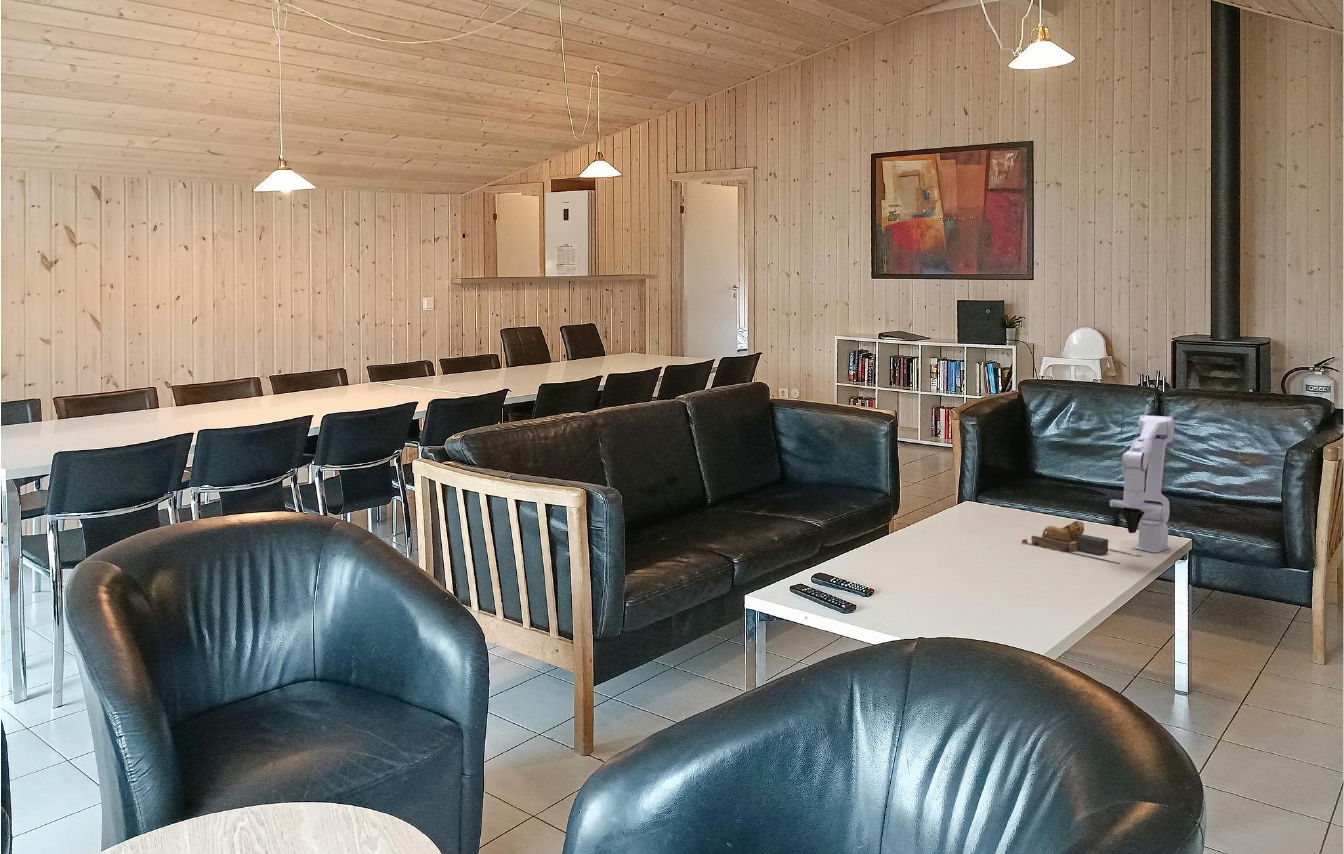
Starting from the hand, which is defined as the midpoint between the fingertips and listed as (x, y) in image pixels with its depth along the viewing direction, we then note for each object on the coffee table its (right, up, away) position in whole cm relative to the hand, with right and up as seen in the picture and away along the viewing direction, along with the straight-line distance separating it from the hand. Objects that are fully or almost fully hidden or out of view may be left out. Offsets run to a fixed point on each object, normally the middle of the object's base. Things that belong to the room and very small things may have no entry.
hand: (1132, 532), depth 328 cm
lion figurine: (-12, -7, +26) cm, 30 cm away
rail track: (-8, -8, +21) cm, 24 cm away
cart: (-10, -7, +23) cm, 26 cm away
